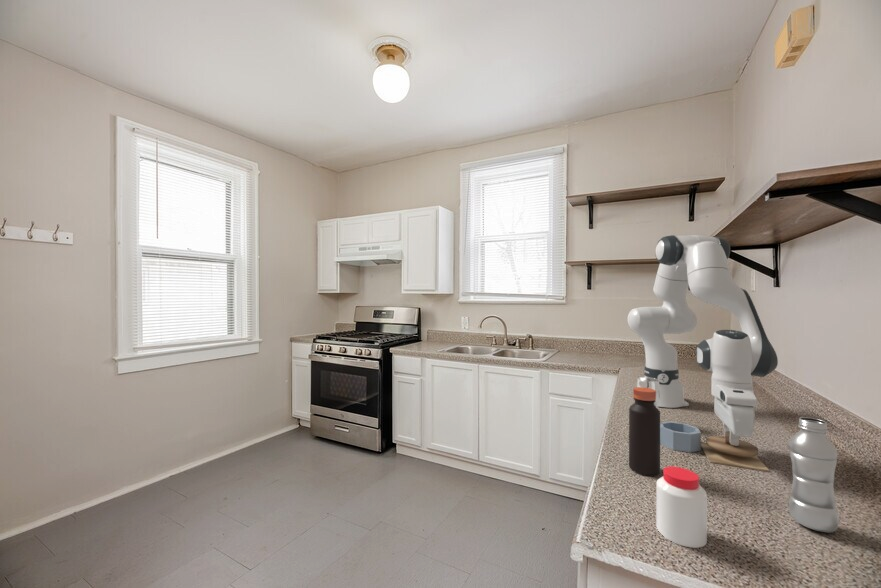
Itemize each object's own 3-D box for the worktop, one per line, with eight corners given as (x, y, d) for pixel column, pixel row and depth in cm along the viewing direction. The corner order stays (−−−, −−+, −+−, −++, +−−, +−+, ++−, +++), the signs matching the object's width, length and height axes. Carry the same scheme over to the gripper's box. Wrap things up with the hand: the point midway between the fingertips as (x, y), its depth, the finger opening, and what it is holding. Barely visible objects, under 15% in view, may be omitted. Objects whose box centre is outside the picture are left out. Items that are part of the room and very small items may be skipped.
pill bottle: (714, 551, 62) (715, 486, 62) (663, 543, 64) (663, 480, 64) (696, 524, 70) (696, 466, 70) (651, 517, 72) (651, 461, 72)
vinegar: (655, 479, 87) (656, 394, 87) (625, 470, 91) (625, 389, 91) (663, 469, 92) (663, 389, 92) (633, 461, 96) (634, 384, 96)
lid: (702, 437, 107) (702, 423, 107) (749, 443, 102) (749, 429, 102) (711, 451, 97) (711, 436, 97) (765, 459, 92) (765, 443, 92)
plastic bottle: (836, 543, 65) (836, 429, 65) (784, 523, 70) (784, 418, 70) (842, 529, 68) (842, 421, 69) (792, 511, 74) (792, 412, 74)
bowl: (657, 436, 114) (657, 419, 114) (695, 441, 109) (695, 424, 110) (661, 448, 105) (661, 430, 105) (703, 454, 101) (703, 436, 101)
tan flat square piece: (698, 442, 108) (698, 441, 108) (749, 450, 103) (749, 448, 103) (710, 462, 96) (710, 460, 96) (769, 472, 91) (769, 470, 91)
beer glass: (653, 419, 128) (653, 377, 128) (663, 427, 121) (664, 381, 121) (632, 419, 129) (633, 376, 129) (641, 426, 122) (641, 381, 122)
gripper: (707, 381, 110) (707, 427, 110) (727, 398, 92) (727, 454, 92) (734, 383, 108) (734, 430, 108) (760, 401, 89) (759, 459, 89)
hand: (731, 441), depth 100 cm, fingers closed on lid, 3 cm apart
